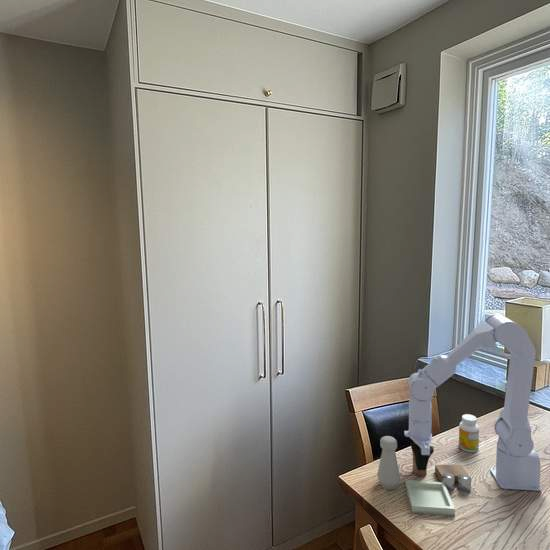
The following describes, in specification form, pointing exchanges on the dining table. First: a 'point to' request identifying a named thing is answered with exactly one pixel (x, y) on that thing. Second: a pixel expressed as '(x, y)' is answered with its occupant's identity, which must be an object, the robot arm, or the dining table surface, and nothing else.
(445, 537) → the dining table surface
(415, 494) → the tray
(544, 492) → the dining table surface
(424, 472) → the dowel
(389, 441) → the salt shaker
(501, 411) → the robot arm
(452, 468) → the wooden block
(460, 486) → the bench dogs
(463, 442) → the supplement bottle
